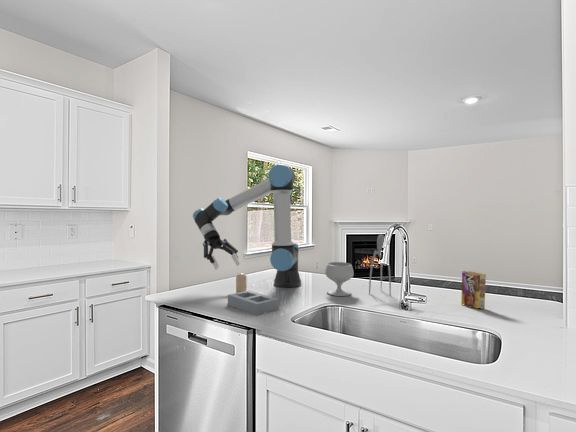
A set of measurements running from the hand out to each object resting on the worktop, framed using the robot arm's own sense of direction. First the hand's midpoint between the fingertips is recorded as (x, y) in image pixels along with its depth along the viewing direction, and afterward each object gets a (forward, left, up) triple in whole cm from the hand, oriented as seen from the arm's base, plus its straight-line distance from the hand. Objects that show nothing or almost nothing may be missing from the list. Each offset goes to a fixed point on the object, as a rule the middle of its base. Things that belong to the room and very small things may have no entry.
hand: (228, 266), depth 177 cm
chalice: (-40, +38, -14) cm, 57 cm away
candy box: (-66, +92, -14) cm, 114 cm away
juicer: (-56, +53, -14) cm, 78 cm away
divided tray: (+7, +28, -13) cm, 32 cm away
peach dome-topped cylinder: (-1, +9, -13) cm, 16 cm away
